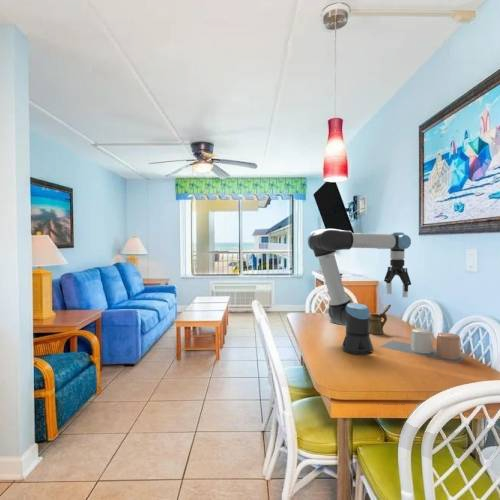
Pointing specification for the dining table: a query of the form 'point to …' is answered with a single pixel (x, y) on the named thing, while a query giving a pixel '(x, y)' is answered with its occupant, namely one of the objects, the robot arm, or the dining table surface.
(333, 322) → the frisbee
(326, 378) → the dining table surface
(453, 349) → the terracotta cup
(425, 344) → the cream cup
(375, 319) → the wooden mug
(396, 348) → the board
